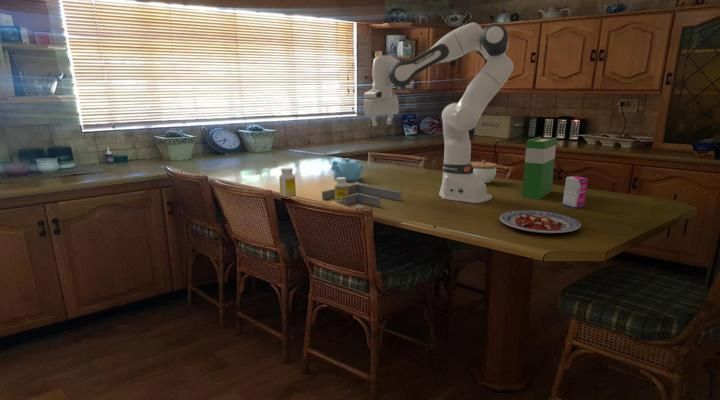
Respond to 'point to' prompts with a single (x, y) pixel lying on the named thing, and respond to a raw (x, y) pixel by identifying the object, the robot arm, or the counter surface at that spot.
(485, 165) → the lidded bowl
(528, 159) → the green white carton
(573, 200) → the supplement box
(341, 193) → the supplement bottle
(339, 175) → the teapot
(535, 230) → the ceramic plate
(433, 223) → the counter surface
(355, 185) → the guide walls
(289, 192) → the supplement bottle
